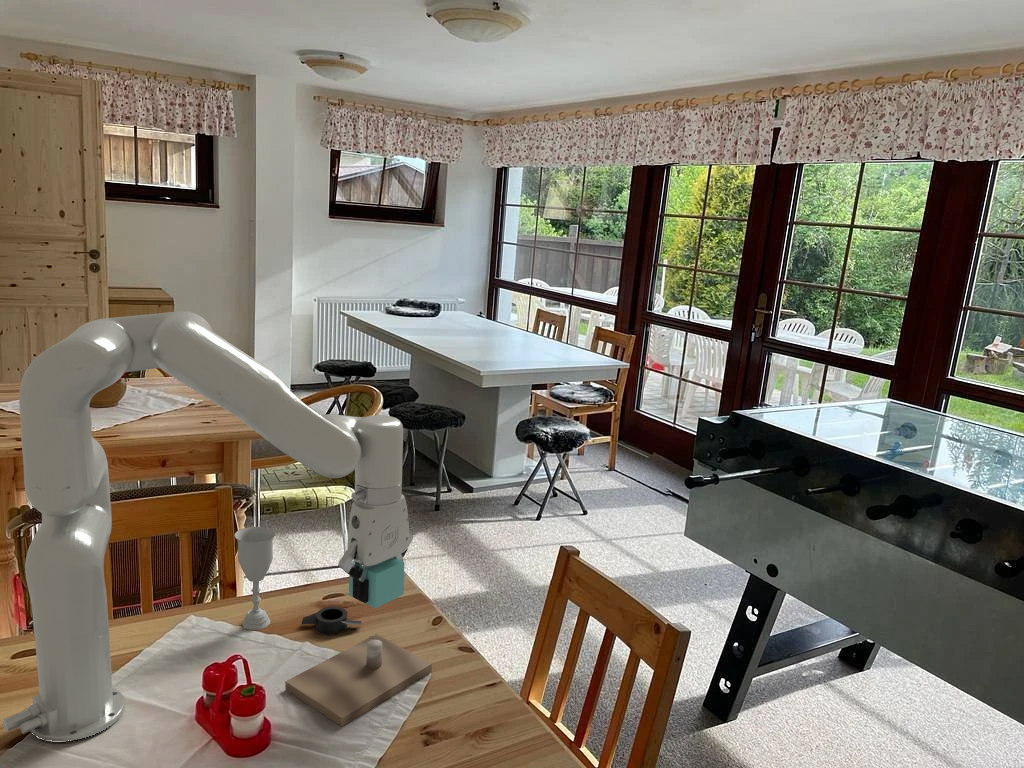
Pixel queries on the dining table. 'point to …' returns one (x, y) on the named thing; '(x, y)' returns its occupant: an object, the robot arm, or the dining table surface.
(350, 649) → the stub board
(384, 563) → the turquoise rounded cube
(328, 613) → the dark grey ring piece
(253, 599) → the chalice
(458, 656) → the dining table surface
